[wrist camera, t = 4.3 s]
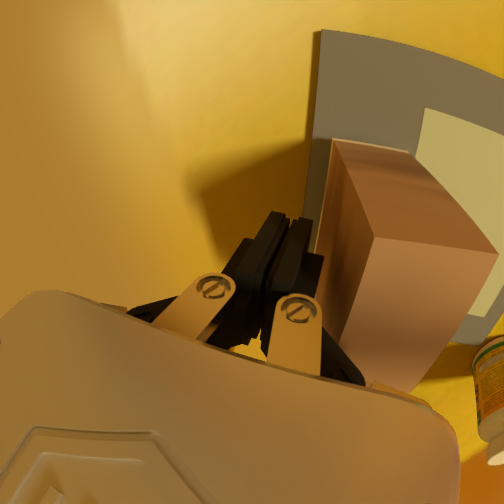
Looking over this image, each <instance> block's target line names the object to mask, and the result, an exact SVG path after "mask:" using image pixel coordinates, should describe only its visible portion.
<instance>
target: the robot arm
mask: <svg viewBox="0 0 504 504" xmlns="http://www.w3.org/2000/svg"><path fill="white" fill-rule="evenodd" d="M289 224H290V218H286V215H285V214H283V213H279V212H274V211H271V213H270V214H269V216H268V218H267V219H266V221H265V222H264V224H263V226H262V227H261V229H260V231H259V232H258V234H257V236H256V237H255V239H254V240H253V239H249V238H244V239H243V241H242V242H241V244H240V245H239V247H238V248H237V250H236V251H235V253H234V254H233V256H232V257H231V259H230V260H229V262H228V263H227V265H226V266H225V268H224V269H223V271H222V272H221V273H207V274H204V275H201V276H199V277H198V278H197V279H195V280H194V281H193V282H192V283H191V284H190V285H189V286H188V287H187V288H186V289H185V290H184V291H183V292H182V293H181V294H180V295H179V296H175V297H172V298H168V299H164V300H161V301H157V302H153V303H149V304H146V305H142V306H138V307H135V308H133V309H131V310H130V311H128V310H127V308H126V307H121V306H115V305H109V304H104V303H98V302H96V301H93V300H90V299H87V298H85V297H82V296H79V295H76V294H72V293H69V292H64V291H58V290H42V291H36V292H33V293H31V294H29V295H27V296H26V297H25V298H23V299H22V300H21V301H20V302H18V303H17V304H16V305H15V306H14V307H13V308H12V309H10V310H9V311H8V312H7V313H6V314H5V315H4V316H3V317H2V318H1V319H0V504H458V500H459V488H460V453H459V445H458V440H457V437H456V434H455V431H454V429H453V427H452V426H451V425H450V423H449V422H448V421H447V420H446V419H445V418H444V417H443V416H441V415H440V414H439V413H437V412H436V411H434V410H433V409H432V407H431V406H430V405H429V404H428V403H427V402H425V401H424V400H422V399H419V398H417V397H414V396H412V395H409V394H407V393H404V392H402V391H399V390H397V389H394V388H392V387H389V386H387V385H384V384H382V383H380V382H377V381H375V380H374V382H373V383H371V382H369V381H366V380H365V379H364V376H363V375H362V373H361V372H360V370H359V369H358V368H357V367H356V366H355V364H354V363H353V362H352V361H351V360H350V359H349V357H348V356H347V355H346V354H345V353H344V351H343V350H342V349H341V348H340V347H339V345H338V344H337V343H336V342H335V341H334V339H333V338H332V337H331V336H330V335H329V334H328V332H327V331H326V330H325V329H324V328H323V326H322V310H321V307H320V305H319V303H318V302H317V301H316V300H314V298H315V295H316V291H317V287H318V283H319V278H320V274H321V270H322V266H323V261H324V257H325V256H323V255H319V254H314V253H310V252H308V248H309V243H310V237H311V232H312V226H313V220H311V219H307V218H302V217H299V219H298V220H293V222H292V224H291V226H290V228H289ZM260 329H261V335H260V340H261V350H262V352H263V353H264V355H265V356H266V358H267V360H266V362H265V361H262V360H258V359H254V358H251V357H248V356H245V355H241V354H238V353H235V352H234V348H235V346H237V345H240V344H244V345H248V344H249V342H250V340H251V338H254V339H256V338H257V336H258V334H259V332H260Z"/></svg>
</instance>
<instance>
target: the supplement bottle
mask: <svg viewBox="0 0 504 504" xmlns="http://www.w3.org/2000/svg"><path fill="white" fill-rule="evenodd" d="M472 370H473V377H474V386H475V395H476V406H477V421H478V434H479V436H480V438H481V439H482V440H483V441H485V442H488V443H489V444H488V447H487V449H486V454H487V464H489V465H499V464H504V336H502V337H499V338H496V339H494V340H492V341H490V342H489V343H487V344H486V345H484V346H483V347H482V348H481V349H480V350H479V351H478V353H477V354H476V355H475V357H474V360H473V363H472Z"/></svg>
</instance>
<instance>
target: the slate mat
mask: <svg viewBox="0 0 504 504" xmlns="http://www.w3.org/2000/svg"><path fill="white" fill-rule="evenodd" d="M332 138H338V139H345V140H351V141H358V142H364V143H370V144H375V145H381V146H386V147H391V148H396V149H401V150H406V151H408V152H409V153H410V154H411V155H412V156H413V157H414V158H415V159H416V160H417V161H418V162H419V163H420V164H421V165H423V166H424V167H425V168H426V169H427V170H428V171H429V172H430V173H431V175H432V176H433V177H434V178H435V179H436V180H437V181H438V182H439V183H440V184H441V185H442V186H443V187H444V188H445V189H446V190H447V191H448V192H449V194H450V195H451V196H452V197H453V198H454V199H455V200H456V201H457V202H458V204H459V205H460V206H461V207H462V208H463V209H464V210H465V212H466V213H467V214H468V215H469V216H470V218H471V219H472V220H473V221H474V222H475V224H476V225H477V226H478V227H479V229H480V230H481V231H482V232H483V234H484V235H485V236H486V237H487V239H488V240H489V241H490V243H491V244H492V245H493V247H494V248H495V249H496V251H497V252H498V253H499V256H498V258H497V260H496V262H495V264H494V266H493V268H492V270H491V272H490V274H489V276H488V278H487V280H486V282H485V284H484V286H483V287H482V289H481V291H480V293H479V295H478V296H477V298H476V300H475V302H474V303H473V305H472V307H471V308H470V310H469V312H468V313H467V315H466V316H465V318H464V320H463V321H462V323H461V324H460V326H459V328H458V329H457V331H456V332H455V334H454V335H453V337H452V338H451V340H450V341H451V342H456V343H462V344H468V345H474V346H480V345H481V344H482V343H483V341H484V340H485V339H486V337H487V336H488V334H489V333H490V332H491V330H492V329H493V327H494V326H495V324H496V323H497V321H498V320H499V318H500V317H501V315H502V314H503V312H504V79H501V78H499V77H497V76H495V75H493V74H490V73H488V72H486V71H483V70H481V69H479V68H476V67H474V66H471V65H468V64H466V63H463V62H460V61H458V60H455V59H452V58H449V57H446V56H443V55H440V54H437V53H434V52H431V51H427V50H424V49H421V48H417V47H413V46H410V45H406V44H402V43H398V42H394V41H389V40H385V39H380V38H375V37H370V36H365V35H359V34H353V33H347V32H340V31H333V30H325V29H322V30H321V45H320V58H319V71H318V83H317V94H316V105H315V115H314V125H313V134H312V143H311V152H310V161H309V169H308V178H307V186H306V193H305V201H304V208H303V216H302V218H307V219H311V220H313V226H312V232H311V237H310V243H309V248H308V252H310V253H314V250H315V245H316V239H317V234H318V228H319V222H320V216H321V210H322V204H323V198H324V192H325V185H326V179H327V172H328V165H329V158H330V151H331V144H332ZM314 300H316V295H315V298H314Z"/></svg>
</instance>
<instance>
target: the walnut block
mask: <svg viewBox="0 0 504 504" xmlns="http://www.w3.org/2000/svg"><path fill="white" fill-rule="evenodd" d="M314 254H319V255H323V256H325V257H324V261H323V266H322V270H321V274H320V278H319V283H318V287H317V291H316V301H317V302H318V303H319V305H320V307H321V310H322V326H323V328H324V329H325V330H326V331H327V332H328V334H329V335H330V336H331V337H332V338H333V339H334V341H335V342H336V343H337V344H338V345H339V347H340V348H341V349H342V350H343V351H344V353H345V354H346V355H347V356H348V357H349V359H350V360H351V361H352V362H353V363H354V364H355V366H356V367H357V368H358V369H359V370H360V372H361V373H362V375H363V376H364V379H365V380H366V381H369V382H371V383H373V382H374V380H375V381H377V382H380V383H382V384H384V385H387V386H389V387H392V388H394V389H397V390H399V391H402V392H404V393H410V392H411V391H412V390H413V389H414V388H415V386H416V385H417V384H418V383H419V382H420V380H421V379H422V378H423V377H424V375H425V374H426V373H427V371H428V370H429V369H430V367H431V366H432V365H433V363H434V362H435V361H436V359H437V358H438V357H439V355H440V354H441V352H442V351H443V350H444V348H445V347H446V345H447V344H448V343H449V341H450V340H451V338H452V337H453V335H454V334H455V332H456V331H457V329H458V328H459V326H460V324H461V323H462V321H463V320H464V318H465V316H466V315H467V313H468V312H469V310H470V308H471V307H472V305H473V303H474V302H475V300H476V298H477V296H478V295H479V293H480V291H481V289H482V287H483V286H484V284H485V282H486V280H487V278H488V276H489V274H490V272H491V270H492V268H493V266H494V264H495V262H496V260H497V258H498V256H499V253H498V252H497V251H496V249H495V248H494V247H493V245H492V244H491V243H490V241H489V240H488V239H487V237H486V236H485V235H484V234H483V232H482V231H481V230H480V229H479V227H478V226H477V225H476V224H475V222H474V221H473V220H472V219H471V218H470V216H469V215H468V214H467V213H466V212H465V210H464V209H463V208H462V207H461V206H460V205H459V204H458V202H457V201H456V200H455V199H454V198H453V197H452V196H451V195H450V194H449V192H448V191H447V190H446V189H445V188H444V187H443V186H442V185H441V184H440V183H439V182H438V181H437V180H436V179H435V178H434V177H433V176H432V175H431V173H430V172H429V171H428V170H427V169H426V168H425V167H424V166H423V165H421V164H420V163H419V162H418V161H417V160H416V159H415V158H414V157H413V156H412V155H411V154H410V153H409V152H408V151H406V150H401V149H396V148H391V147H386V146H381V145H375V144H370V143H364V142H358V141H351V140H345V139H338V138H332V144H331V151H330V158H329V165H328V172H327V179H326V185H325V192H324V198H323V204H322V210H321V216H320V222H319V228H318V234H317V239H316V245H315V250H314Z"/></svg>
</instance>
